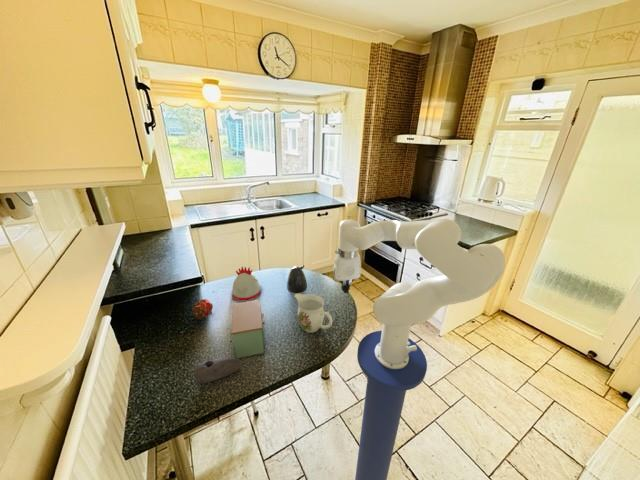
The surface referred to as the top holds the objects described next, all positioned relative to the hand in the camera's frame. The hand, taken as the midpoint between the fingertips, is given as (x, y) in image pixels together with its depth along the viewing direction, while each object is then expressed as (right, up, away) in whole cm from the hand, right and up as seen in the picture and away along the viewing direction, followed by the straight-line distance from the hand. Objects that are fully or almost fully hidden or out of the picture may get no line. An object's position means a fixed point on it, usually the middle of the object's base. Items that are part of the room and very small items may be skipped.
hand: (345, 291), depth 105 cm
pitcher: (-13, -16, +3) cm, 21 cm away
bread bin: (-39, -19, -3) cm, 43 cm away
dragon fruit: (-63, -13, +10) cm, 65 cm away
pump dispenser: (-22, -6, +26) cm, 34 cm away
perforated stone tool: (-45, -26, -18) cm, 54 cm away
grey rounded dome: (-48, -6, +26) cm, 55 cm away
